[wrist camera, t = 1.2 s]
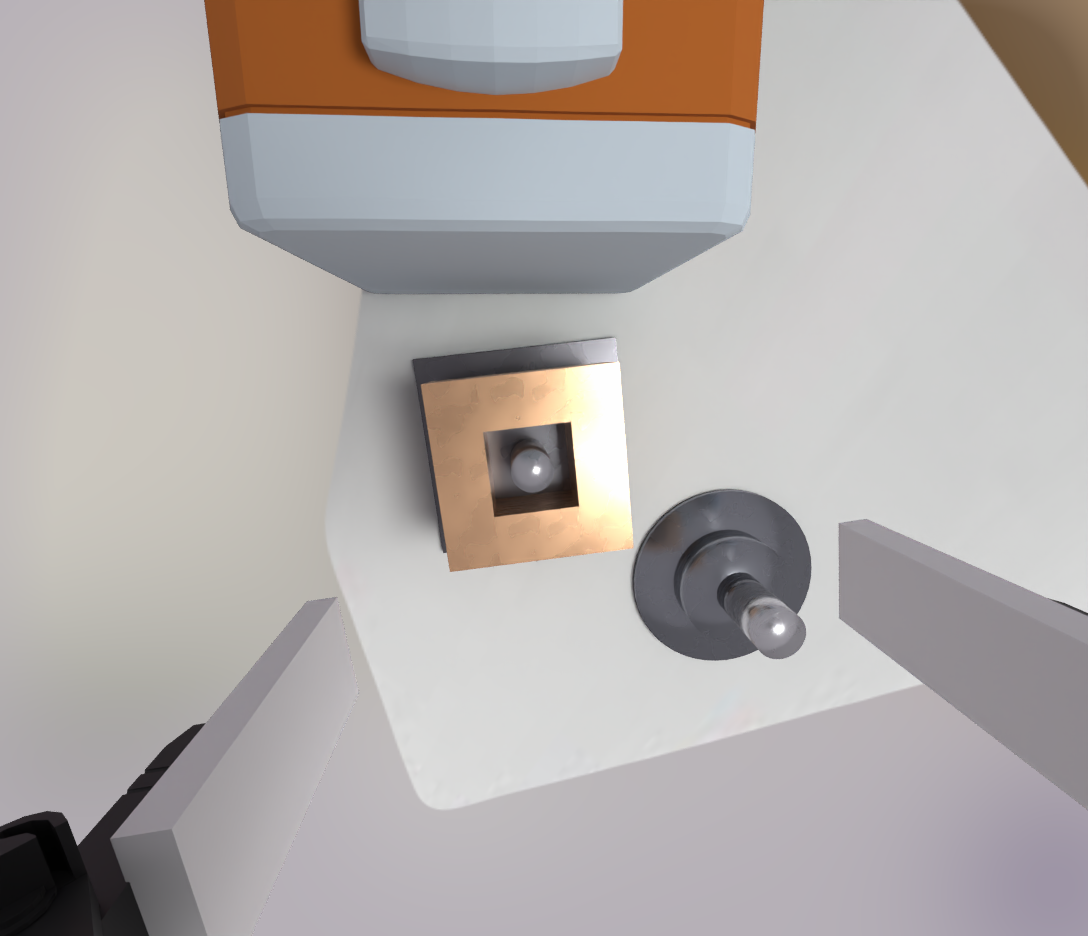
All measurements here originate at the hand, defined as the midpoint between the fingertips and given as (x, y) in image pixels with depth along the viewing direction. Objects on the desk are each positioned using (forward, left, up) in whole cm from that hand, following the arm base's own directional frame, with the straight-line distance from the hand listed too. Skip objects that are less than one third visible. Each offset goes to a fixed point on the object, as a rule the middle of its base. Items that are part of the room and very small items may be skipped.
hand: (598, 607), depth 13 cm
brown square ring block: (0, -1, -21) cm, 21 cm away
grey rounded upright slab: (-15, -1, -25) cm, 29 cm away
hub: (+12, +13, -25) cm, 30 cm away
